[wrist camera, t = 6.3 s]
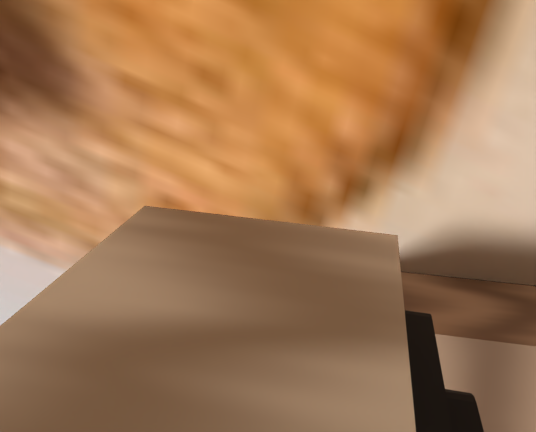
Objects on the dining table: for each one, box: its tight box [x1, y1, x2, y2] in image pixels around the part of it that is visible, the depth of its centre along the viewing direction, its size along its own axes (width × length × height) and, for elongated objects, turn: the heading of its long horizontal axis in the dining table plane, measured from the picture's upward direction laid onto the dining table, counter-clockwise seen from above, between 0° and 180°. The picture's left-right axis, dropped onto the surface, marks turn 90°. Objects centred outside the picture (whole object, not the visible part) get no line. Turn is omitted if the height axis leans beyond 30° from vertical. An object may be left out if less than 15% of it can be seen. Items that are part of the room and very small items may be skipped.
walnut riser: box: [401, 272, 536, 432], centre depth 29 cm, size 14×16×6 cm
